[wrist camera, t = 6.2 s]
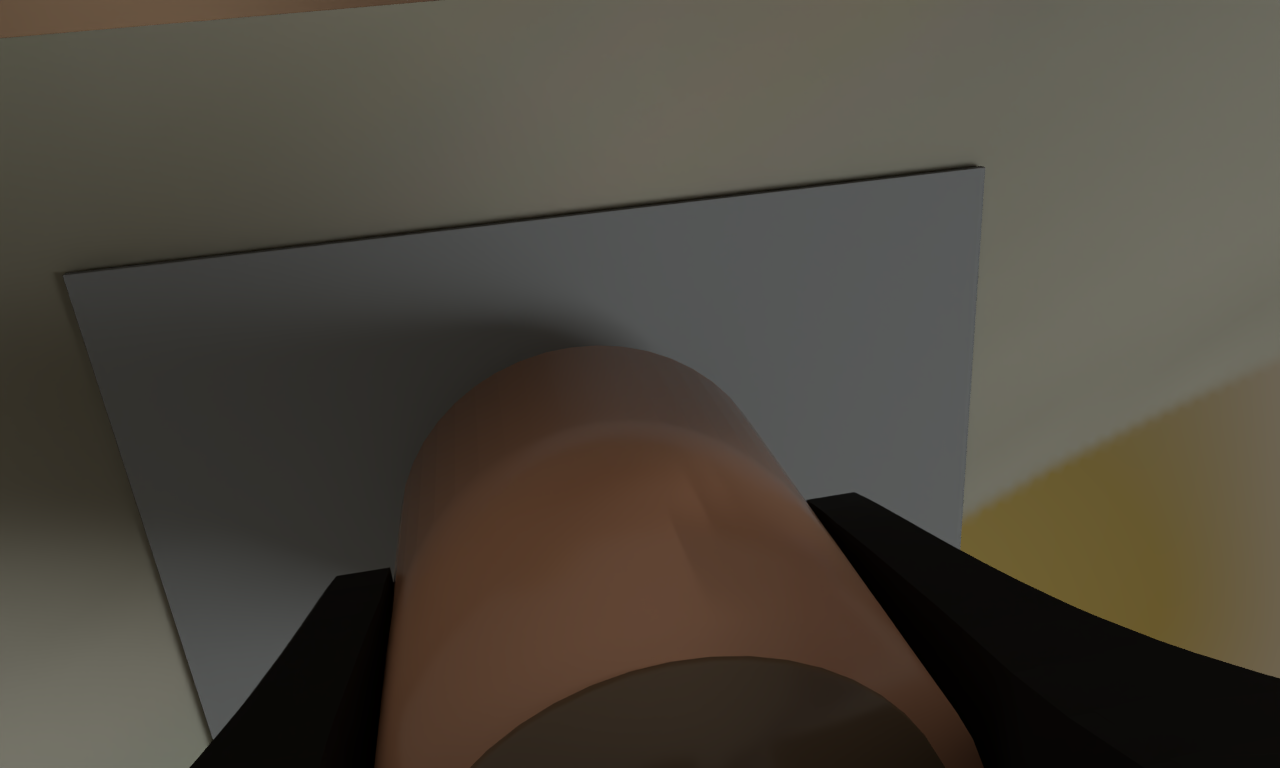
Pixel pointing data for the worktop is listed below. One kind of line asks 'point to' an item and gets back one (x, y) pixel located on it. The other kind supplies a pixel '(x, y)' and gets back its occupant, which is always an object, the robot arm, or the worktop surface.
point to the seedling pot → (634, 592)
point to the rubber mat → (499, 337)
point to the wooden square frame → (147, 12)
